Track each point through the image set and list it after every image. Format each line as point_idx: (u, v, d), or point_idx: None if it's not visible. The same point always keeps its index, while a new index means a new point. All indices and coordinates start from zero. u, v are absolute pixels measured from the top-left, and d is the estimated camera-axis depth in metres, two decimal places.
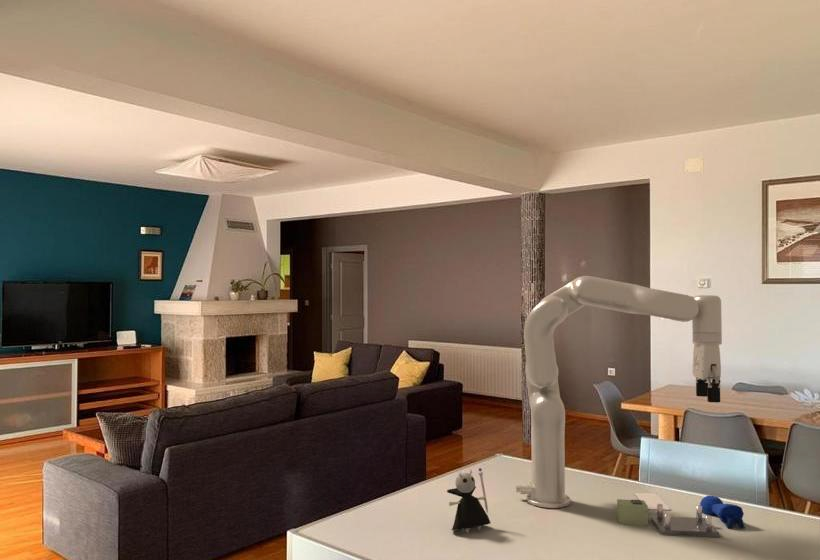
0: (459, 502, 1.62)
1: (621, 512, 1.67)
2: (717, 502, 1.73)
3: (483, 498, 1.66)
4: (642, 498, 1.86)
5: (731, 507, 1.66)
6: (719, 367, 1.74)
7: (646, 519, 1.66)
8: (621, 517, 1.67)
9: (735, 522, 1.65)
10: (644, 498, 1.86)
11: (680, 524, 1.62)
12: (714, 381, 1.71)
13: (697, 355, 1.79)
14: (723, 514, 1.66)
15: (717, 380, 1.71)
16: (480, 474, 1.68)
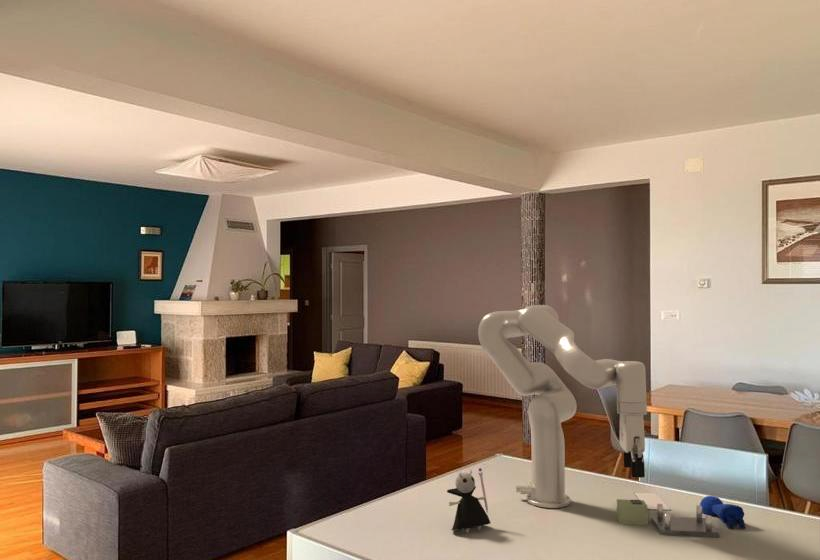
0: (459, 502, 1.62)
1: (621, 512, 1.67)
2: (717, 502, 1.72)
3: (483, 498, 1.66)
4: (642, 498, 1.86)
5: (732, 507, 1.66)
6: (643, 440, 1.64)
7: (646, 519, 1.66)
8: (621, 517, 1.67)
9: (736, 522, 1.65)
10: (644, 498, 1.86)
11: (680, 524, 1.62)
12: (637, 456, 1.61)
13: (622, 425, 1.69)
14: (724, 514, 1.66)
15: (640, 455, 1.61)
16: (480, 474, 1.68)
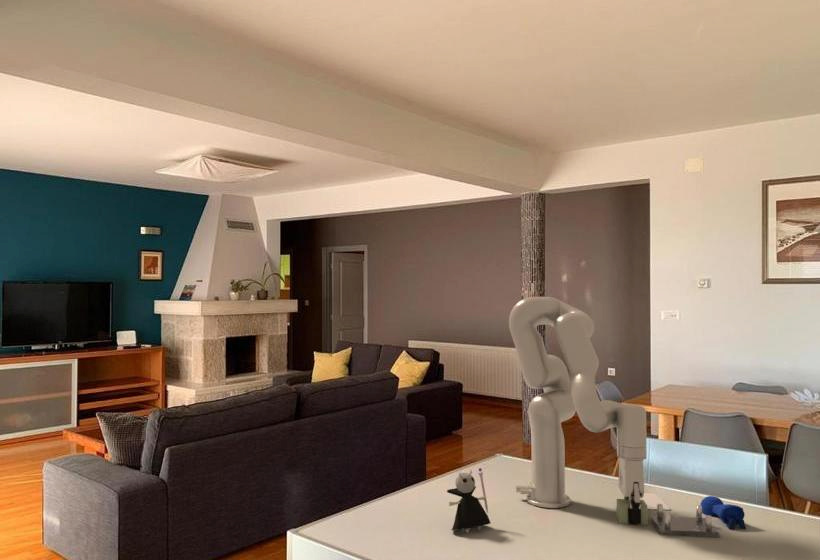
0: (459, 502, 1.62)
1: (621, 512, 1.67)
2: (718, 503, 1.72)
3: (483, 498, 1.66)
4: (642, 498, 1.86)
5: (732, 508, 1.66)
6: (642, 485, 1.64)
7: (646, 519, 1.66)
8: (621, 517, 1.67)
9: (736, 523, 1.65)
10: (644, 498, 1.86)
11: (680, 524, 1.62)
12: (633, 504, 1.64)
13: (621, 469, 1.69)
14: (724, 515, 1.65)
15: (637, 504, 1.63)
16: (480, 474, 1.68)
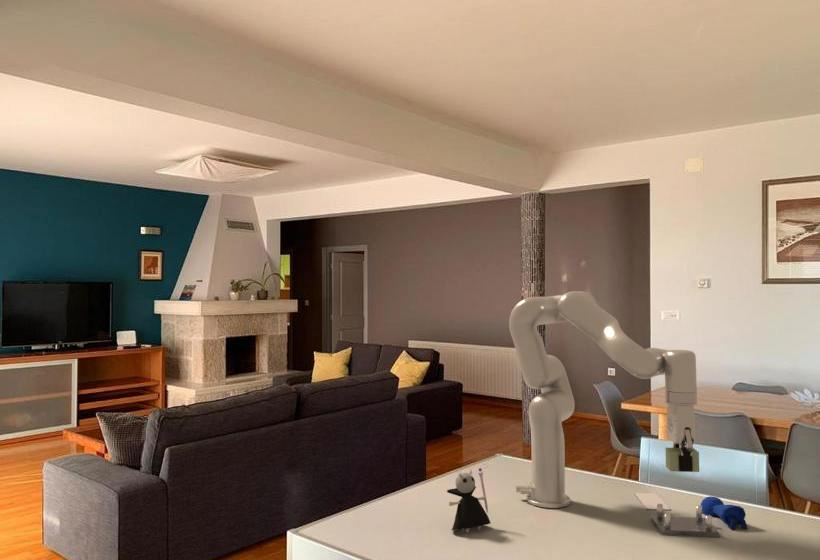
0: (459, 502, 1.62)
1: (671, 459, 1.62)
2: (718, 503, 1.72)
3: (483, 498, 1.66)
4: (642, 498, 1.86)
5: (733, 508, 1.65)
6: (694, 431, 1.59)
7: (697, 466, 1.61)
8: (671, 464, 1.62)
9: (737, 523, 1.65)
10: (644, 498, 1.86)
11: (680, 524, 1.62)
12: (685, 450, 1.58)
13: (670, 416, 1.63)
14: (725, 515, 1.65)
15: (688, 450, 1.58)
16: (480, 474, 1.68)
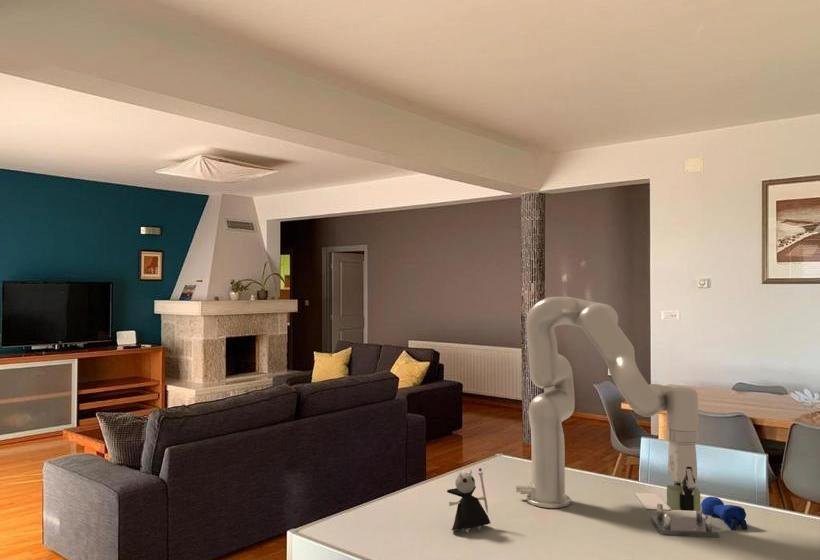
0: (459, 502, 1.62)
1: (672, 498, 1.61)
2: (718, 503, 1.72)
3: (483, 498, 1.66)
4: (642, 498, 1.86)
5: (734, 508, 1.65)
6: (695, 470, 1.58)
7: (699, 505, 1.60)
8: (672, 503, 1.61)
9: (738, 523, 1.64)
10: (644, 498, 1.86)
11: (680, 524, 1.62)
12: (687, 490, 1.58)
13: (672, 454, 1.63)
14: (726, 515, 1.65)
15: (690, 490, 1.58)
16: (480, 474, 1.68)
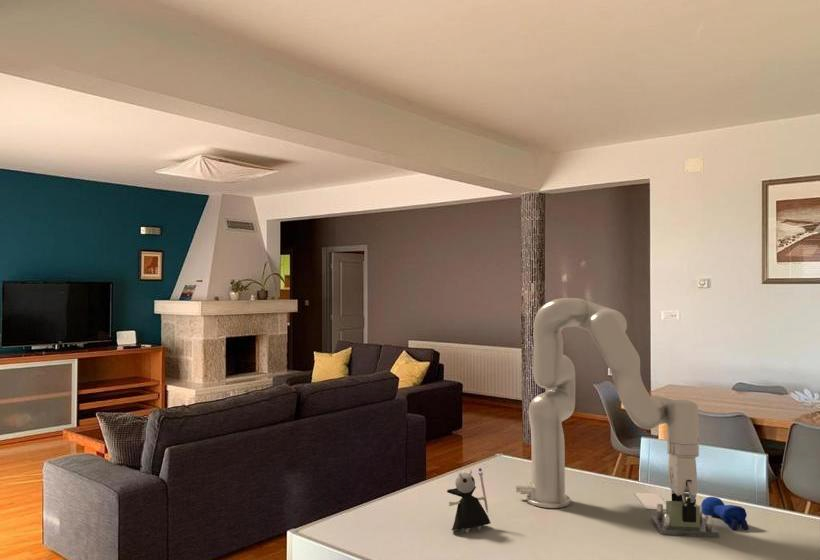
0: (459, 502, 1.62)
1: (672, 514, 1.61)
2: (719, 503, 1.72)
3: (483, 498, 1.66)
4: (642, 498, 1.86)
5: (734, 508, 1.65)
6: (695, 483, 1.58)
7: (698, 521, 1.61)
8: (672, 519, 1.61)
9: (738, 523, 1.64)
10: (644, 498, 1.86)
11: None
12: (689, 501, 1.56)
13: (672, 467, 1.63)
14: (726, 516, 1.65)
15: (692, 500, 1.55)
16: (480, 474, 1.68)
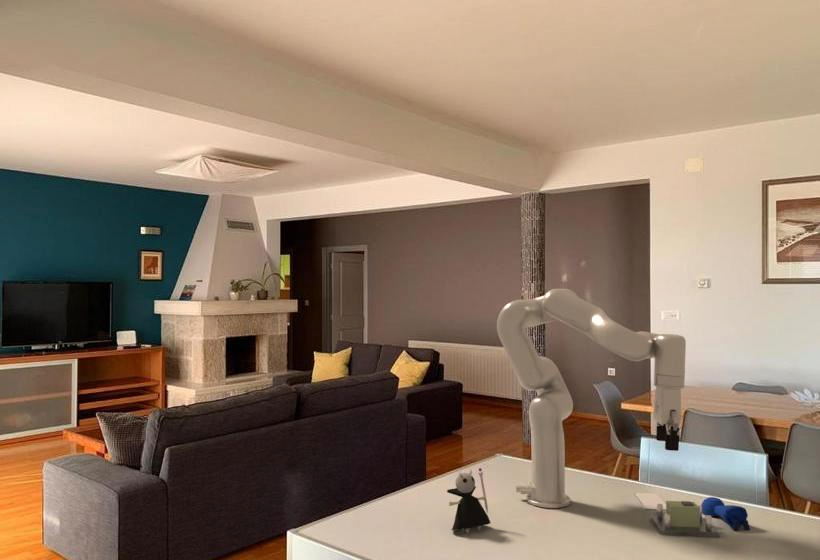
0: (459, 502, 1.62)
1: (672, 514, 1.61)
2: (719, 504, 1.71)
3: (483, 498, 1.66)
4: (642, 498, 1.86)
5: (735, 509, 1.65)
6: (679, 413, 1.62)
7: (698, 521, 1.61)
8: (672, 519, 1.61)
9: (740, 524, 1.64)
10: (644, 498, 1.86)
11: None
12: (672, 429, 1.60)
13: (657, 398, 1.67)
14: (728, 516, 1.65)
15: (675, 428, 1.60)
16: (480, 474, 1.68)
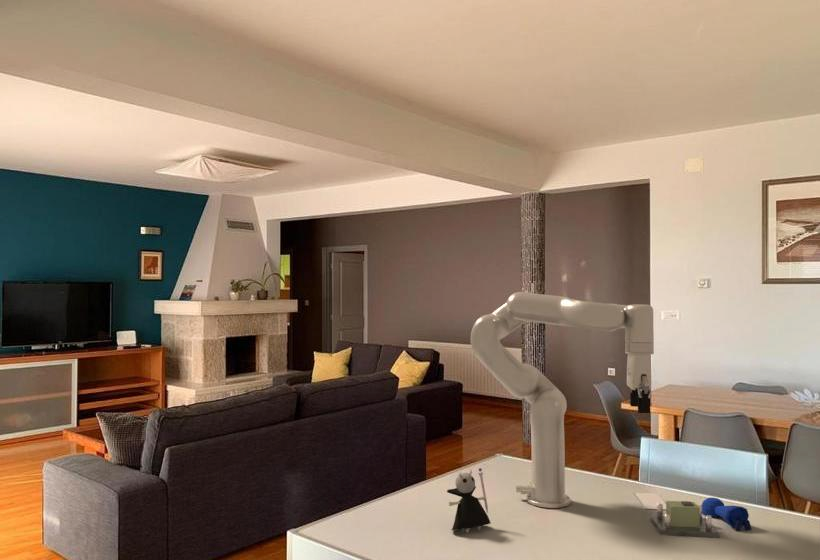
0: (459, 502, 1.62)
1: (672, 514, 1.61)
2: (719, 504, 1.71)
3: (483, 498, 1.66)
4: (642, 498, 1.86)
5: (737, 509, 1.65)
6: (649, 377, 1.72)
7: (698, 521, 1.61)
8: (672, 519, 1.61)
9: None
10: (644, 498, 1.86)
11: None
12: (643, 392, 1.69)
13: (629, 365, 1.77)
14: (729, 516, 1.64)
15: (646, 391, 1.69)
16: (480, 474, 1.68)
